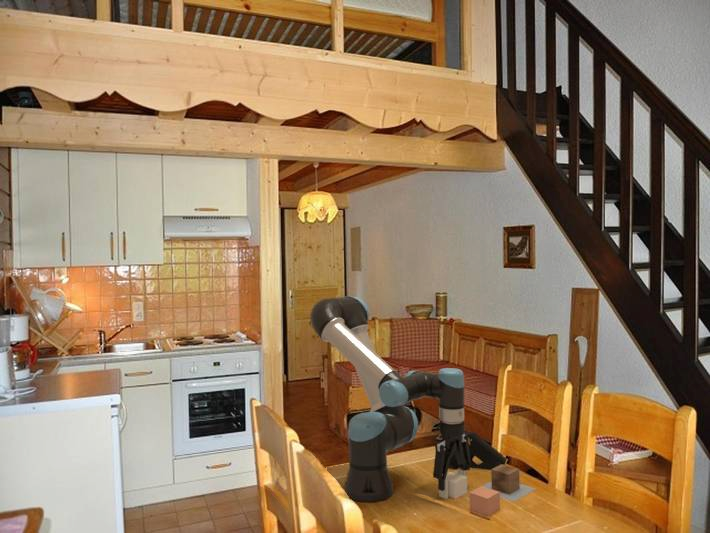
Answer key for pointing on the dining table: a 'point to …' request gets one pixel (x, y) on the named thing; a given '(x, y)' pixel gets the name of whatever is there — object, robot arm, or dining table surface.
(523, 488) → the board
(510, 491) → the brick
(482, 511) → the brick
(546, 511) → the dining table surface
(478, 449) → the taser
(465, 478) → the beige cube
